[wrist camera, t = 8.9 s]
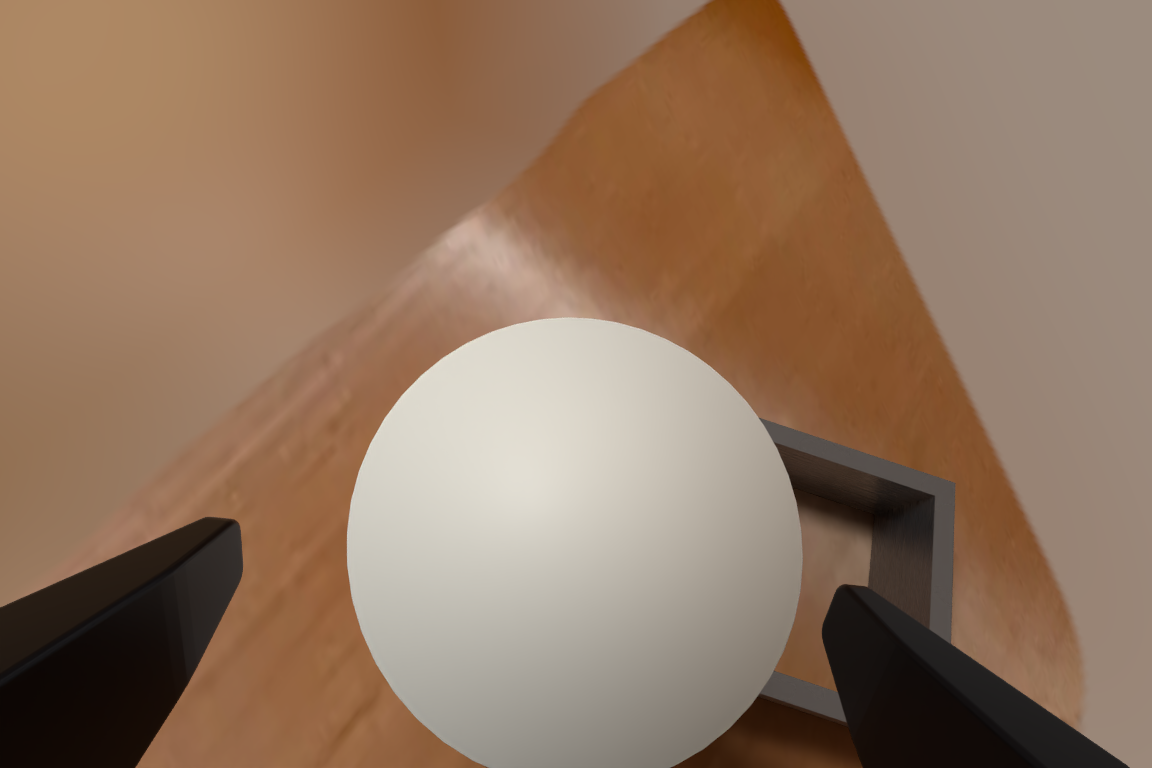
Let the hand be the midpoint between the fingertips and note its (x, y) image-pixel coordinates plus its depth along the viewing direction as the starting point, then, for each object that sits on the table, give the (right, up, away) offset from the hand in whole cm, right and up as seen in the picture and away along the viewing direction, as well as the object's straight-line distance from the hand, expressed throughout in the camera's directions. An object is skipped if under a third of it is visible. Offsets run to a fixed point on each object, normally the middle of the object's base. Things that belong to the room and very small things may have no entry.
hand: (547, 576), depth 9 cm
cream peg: (-1, -3, +8) cm, 9 cm away
